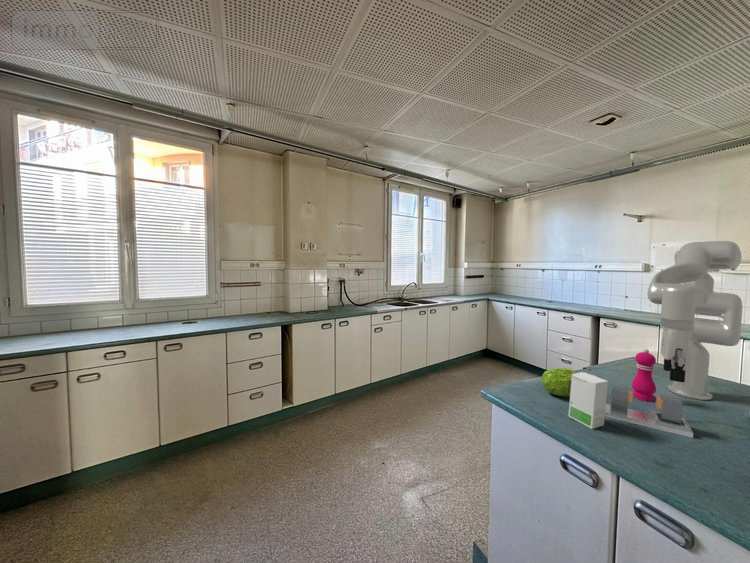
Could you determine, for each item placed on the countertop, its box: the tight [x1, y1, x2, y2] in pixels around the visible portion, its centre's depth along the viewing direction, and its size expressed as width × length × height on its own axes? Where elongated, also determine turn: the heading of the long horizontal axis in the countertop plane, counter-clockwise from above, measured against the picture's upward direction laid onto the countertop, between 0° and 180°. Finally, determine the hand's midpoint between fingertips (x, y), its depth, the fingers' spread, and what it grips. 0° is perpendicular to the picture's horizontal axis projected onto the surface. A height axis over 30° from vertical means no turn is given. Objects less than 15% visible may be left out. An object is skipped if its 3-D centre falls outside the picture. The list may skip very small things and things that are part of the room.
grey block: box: [655, 394, 684, 425], centre depth 96 cm, size 6×4×8 cm
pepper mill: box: [631, 348, 657, 402], centre depth 116 cm, size 7×7×20 cm
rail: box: [605, 384, 694, 439], centre depth 99 cm, size 8×22×10 cm, turn 54°
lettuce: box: [541, 367, 578, 397], centre depth 123 cm, size 12×24×13 cm
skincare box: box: [568, 371, 609, 430], centre depth 99 cm, size 8×7×16 cm
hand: (673, 376), depth 95 cm, fingers open, 9 cm apart
